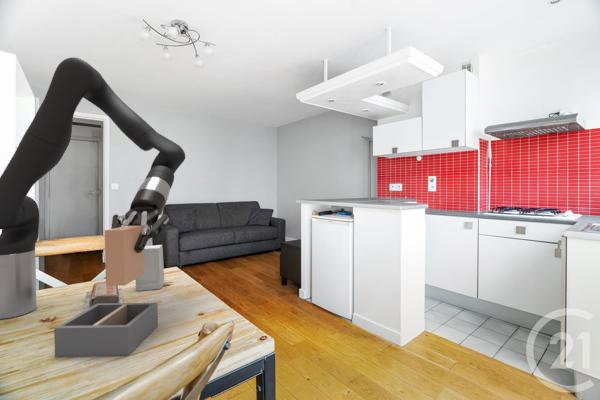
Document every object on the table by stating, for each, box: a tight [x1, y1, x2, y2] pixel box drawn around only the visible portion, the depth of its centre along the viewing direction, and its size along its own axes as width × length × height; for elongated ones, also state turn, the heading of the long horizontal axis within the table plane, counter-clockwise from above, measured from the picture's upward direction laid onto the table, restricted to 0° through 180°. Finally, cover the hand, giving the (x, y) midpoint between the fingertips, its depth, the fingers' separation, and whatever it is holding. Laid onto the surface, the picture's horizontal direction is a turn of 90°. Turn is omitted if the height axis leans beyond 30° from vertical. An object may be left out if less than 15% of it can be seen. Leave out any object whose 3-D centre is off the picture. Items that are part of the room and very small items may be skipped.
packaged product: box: [81, 280, 124, 313], centre depth 88 cm, size 18×5×10 cm
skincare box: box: [134, 244, 166, 292], centre depth 101 cm, size 8×6×15 cm
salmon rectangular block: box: [104, 225, 144, 287], centre depth 65 cm, size 4×8×12 cm, turn 2°
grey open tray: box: [53, 302, 159, 358], centre depth 65 cm, size 15×13×6 cm
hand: (127, 250), depth 66 cm, fingers closed on salmon rectangular block, 4 cm apart
